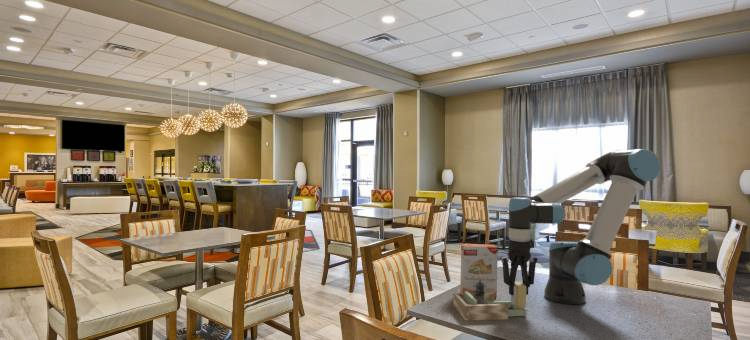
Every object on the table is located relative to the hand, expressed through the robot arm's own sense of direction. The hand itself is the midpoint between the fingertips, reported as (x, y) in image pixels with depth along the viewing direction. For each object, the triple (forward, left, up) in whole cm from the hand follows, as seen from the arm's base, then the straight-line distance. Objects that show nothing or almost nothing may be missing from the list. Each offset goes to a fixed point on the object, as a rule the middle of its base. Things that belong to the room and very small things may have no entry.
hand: (518, 303), depth 144 cm
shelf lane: (+15, 0, -3) cm, 15 cm away
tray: (+9, 0, -3) cm, 9 cm away
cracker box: (+8, -19, -3) cm, 21 cm away
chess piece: (+15, 0, -3) cm, 15 cm away
